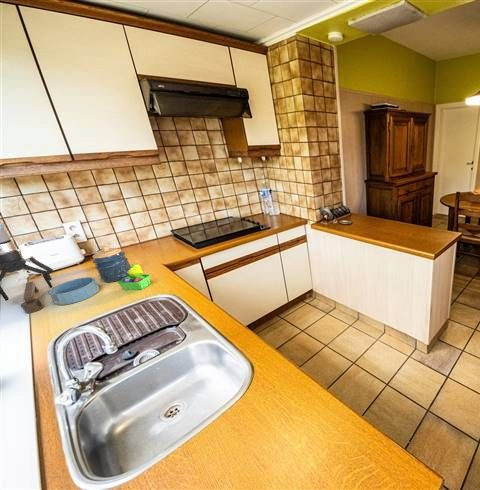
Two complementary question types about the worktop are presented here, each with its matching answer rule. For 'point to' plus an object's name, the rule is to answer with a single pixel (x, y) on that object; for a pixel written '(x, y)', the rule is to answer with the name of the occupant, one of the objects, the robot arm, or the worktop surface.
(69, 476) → the worktop surface
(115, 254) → the canister
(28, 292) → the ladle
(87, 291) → the bowl
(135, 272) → the fruit basket
